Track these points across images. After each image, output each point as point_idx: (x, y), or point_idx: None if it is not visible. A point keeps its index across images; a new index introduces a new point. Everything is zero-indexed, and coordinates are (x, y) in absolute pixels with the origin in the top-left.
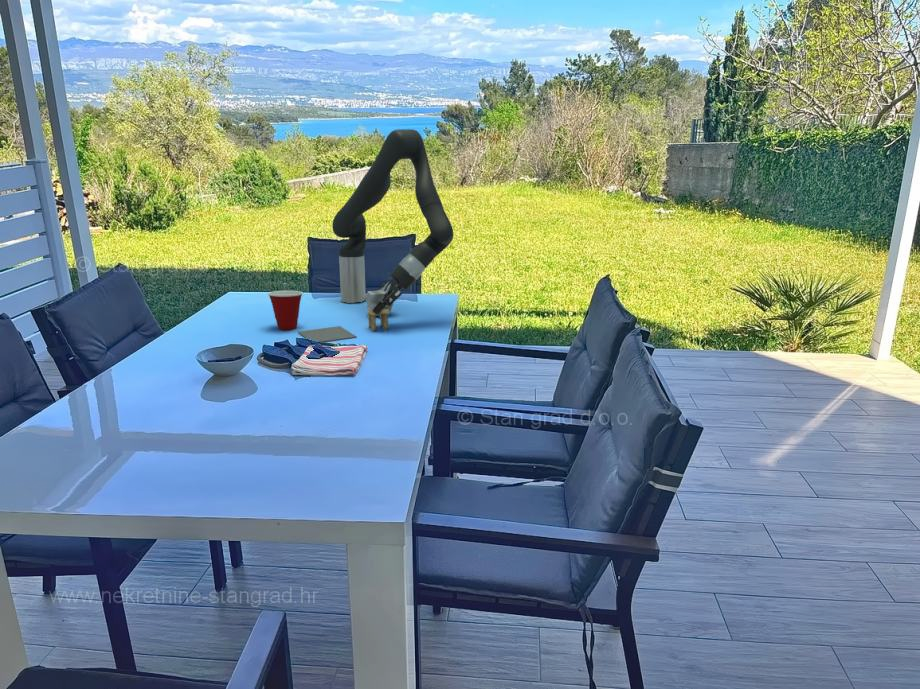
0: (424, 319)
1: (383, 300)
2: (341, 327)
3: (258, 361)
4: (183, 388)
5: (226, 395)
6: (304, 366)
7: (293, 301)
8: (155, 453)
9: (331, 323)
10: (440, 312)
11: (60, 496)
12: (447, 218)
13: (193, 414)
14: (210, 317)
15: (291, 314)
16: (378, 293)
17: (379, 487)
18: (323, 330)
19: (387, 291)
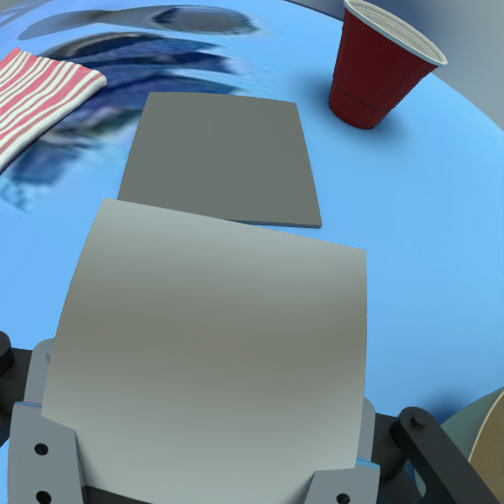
0: None
1: (32, 361)
2: (293, 220)
3: (119, 32)
4: (96, 3)
5: (40, 24)
6: (11, 65)
7: (351, 31)
8: (3, 20)
9: (384, 225)
10: None
11: (8, 9)
12: None
13: (30, 18)
14: (443, 87)
15: (339, 66)
16: (111, 341)
17: None
18: (276, 152)
19: (9, 463)
